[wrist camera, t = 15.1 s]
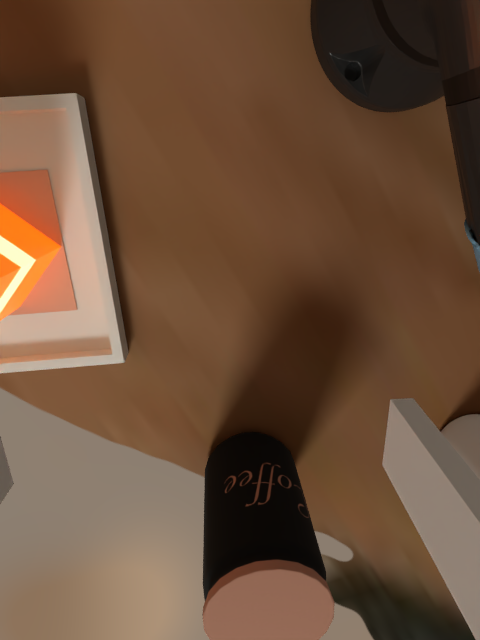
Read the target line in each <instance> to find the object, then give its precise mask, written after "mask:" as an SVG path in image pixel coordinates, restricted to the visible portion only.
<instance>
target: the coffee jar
mask: <svg viewBox="0 0 480 640" xmlns="http://www.w3.org/2000/svg"><path fill="white" fill-rule="evenodd" d="M204 501H205V502H204V555H203V556H204V557H203V558H204V559H203V589H204V598H205V604H204V607H203V623H204V630H205V632H206V634H207V636H208V637H209V639H210V640H319V638H321V636H323V635H324V634H325V633H326V632H327V630H328V628H329V626H330V624H331V622H332V620H333V617H334V600H333V597H332V595H331V592H330V590H329V587H328V585H327V583H326V571H325V567H324V564H323V560H322V557H321V553H320V550H319V546H318V543H317V539H316V536H315V532H314V529H313V525H312V522H311V518H310V515H309V511H308V508H307V504H306V501H305V497H304V494H303V490H302V487H301V483H300V480H299V477H298V473H297V470H296V466H295V463H294V460H293V458H292V455H291V453H290V451H289V450H288V449H287V448H286V447H285V446H284V445H283V444H282V443H281V442H280V441H278V440H276V439H275V438H273V437H271V436H269V435H266V434H261V433H256V432H250V433H241V434H238V435H235V436H232V437H230V438H228V439H227V440H225V441H224V442H223V443H221V444H220V445H218V446H217V447H216V449H215V450H214V451H213V453H212V454H211V455H210V457H209V458H208V462H207V465H206V468H205V499H204Z"/></svg>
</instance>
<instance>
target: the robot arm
mask: <svg viewBox="0 0 480 640" xmlns="http://www.w3.org/2000/svg"><path fill="white" fill-rule="evenodd" d="M311 31H312V38H313V43H314V47H315V50H316V54H317V57H318V59H319V62H320V64H321V66H322V68H323V70H324V72H325V74H326V75H327V77H328V78H329V80H330V81H331V83H332V84H333V85H334V86H335V87H336V88H337V90H338V91H339V92H340V93H342V94H343V95H344V96H345V97H346V98H348V99H349V100H351V101H352V102H354V103H356V104H357V105H359V106H362V107H364V108H367V109H370V110H374V111H379V112H400V111H405V110H409V109H413V108H416V107H419V106H423V105H425V104H428V103H430V102H433V101H435V100H437V99H439V98H440V97H442V96H444V95H445V101H446V109H447V115H448V121H449V126H450V132H451V137H452V143H453V149H454V154H455V160H456V165H457V171H458V176H459V182H460V188H461V193H462V199H463V204H464V210H465V216H466V220H465V223H464V226H465V231H466V234H467V236H468V239H469V240H470V241H471V243H472V245H473V249H474V253H475V257H476V261H477V265H478V269H479V272H480V0H311ZM382 465H383V467H384V469H385V471H386V473H387V475H388V477H389V479H390V480H391V482H392V484H393V486H394V488H395V490H396V492H397V493H398V495H399V497H400V499H401V501H402V503H403V505H404V507H405V508H406V510H407V512H408V514H409V516H410V518H411V520H412V521H413V523H414V525H415V527H416V529H417V531H418V533H419V534H420V536H421V538H422V540H423V542H424V544H425V546H426V548H427V549H428V551H429V553H430V555H431V557H432V559H433V561H434V562H435V564H436V566H437V568H438V570H439V572H440V574H441V575H442V577H443V579H444V581H445V583H446V585H447V587H448V589H449V590H450V592H451V594H452V596H453V598H454V600H455V602H456V603H457V605H458V607H459V609H460V611H461V613H462V615H463V617H464V618H465V620H466V622H467V624H468V626H469V628H470V630H471V631H472V633H473V635H474V637H475V639H476V640H480V479H479V478H478V477H477V476H476V475H475V473H474V472H473V471H472V470H471V468H470V467H469V466H468V465H467V464H466V462H465V461H464V460H463V459H462V458H461V456H460V455H459V454H458V453H457V451H456V450H455V449H454V448H453V447H452V445H451V444H450V443H449V442H448V440H447V439H446V438H445V437H444V436H443V434H442V433H441V432H440V431H439V430H438V428H437V427H436V426H435V425H434V423H433V422H432V421H431V420H430V419H429V417H428V416H427V415H426V414H425V412H424V411H423V410H422V409H421V408H420V406H419V405H418V404H417V403H416V402H415V400H414V399H413V398H409V399H391V400H390V408H389V416H388V424H387V432H386V440H385V448H384V456H383V464H382ZM13 484H14V483H13V480H12V476H11V473H10V469H9V466H8V462H7V459H6V455H5V452H4V448H3V444H2V441H1V437H0V503H1V502H2V501H3V499H4V498H5V496H6V495H7V493H8V492H9V490H10V488H11V487H12V485H13Z"/></svg>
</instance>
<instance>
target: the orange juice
mask: <svg viewBox="0 0 480 640" xmlns="http://www.w3.org/2000/svg"><path fill="white" fill-rule="evenodd" d="M60 248H61V246H60V245H58V244H57V243H55V242H54V241H52V240H51V239H50V238H48V237H47V236H45V235H44V234H43V233H41V232H40V231H38V230H37V229H36V228H34V227H33V226H31V225H30V224H28V223H27V222H26V221H24V220H23V219H21V218H20V217H19V216H17V215H16V214H14V213H13V212H11V211H10V210H9V209H7V208H6V207H4V206H3V205H2V204H0V321H1V320H2V319H3V318H5V317H6V316H8V315H9V314H10V313H12V312H13V311H15V310H16V309H17V308H19V307H20V306H21V304H22V303H23V301H24V300H25V299H26V297H27V296H28V294H29V293H30V291H31V290H32V288H33V287H34V285H35V284H36V283H37V281H38V280H39V278H40V277H41V275H42V274H43V272H44V271H45V269H46V268H47V267H48V265H49V264H50V262H51V261H52V259H53V258H54V256H55V255H56V253H57V252H58V251H59V249H60Z"/></svg>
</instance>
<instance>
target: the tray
mask: <svg viewBox="0 0 480 640" xmlns="http://www.w3.org/2000/svg"><path fill="white" fill-rule="evenodd" d="M0 204H2V205H3V206H4V207H6V208H7V209H9V210H10V211H11V212H13V213H14V214H16V215H17V216H19V217H20V218H21V219H23V220H24V221H26V222H27V223H28V224H30V225H31V226H33V227H34V228H36V229H37V230H38V231H40V232H41V233H43V234H44V235H45V236H47V237H48V238H50V239H51V240H52V241H54V242H55V243H57V244H58V245H60V246H61V248H60V249H59V251H58V252H57V253H56V255H55V256H54V258H53V259H52V261H51V262H50V264H49V265H48V267H47V268H46V269H45V271H44V272H43V274H42V275H41V277H40V278H39V280H38V281H37V283H36V284H35V285H34V287H33V288H32V290H31V291H30V293H29V294H28V296H27V297H26V299H25V300H24V301H23V303H22V304H21V306H20V307H19V308H17V309H16V310H15V311H13V312H12V313H10V314H9V315H8V316H6V317H5V318H3V319H2V320H1V321H0V373H8V372H20V371H32V370H44V369H55V368H67V367H79V366H91V365H103V364H115V363H124V362H125V360H126V358H127V355H128V347H127V341H126V335H125V330H124V324H123V318H122V312H121V307H120V301H119V295H118V289H117V283H116V278H115V272H114V266H113V260H112V254H111V249H110V243H109V237H108V231H107V225H106V220H105V214H104V208H103V202H102V196H101V191H100V185H99V179H98V173H97V167H96V162H95V156H94V150H93V144H92V139H91V133H90V127H89V121H88V115H87V110H86V104H85V98H84V97H82V96H80V95H79V94H77V93H69V94H51V95H33V96H15V97H0Z"/></svg>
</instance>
